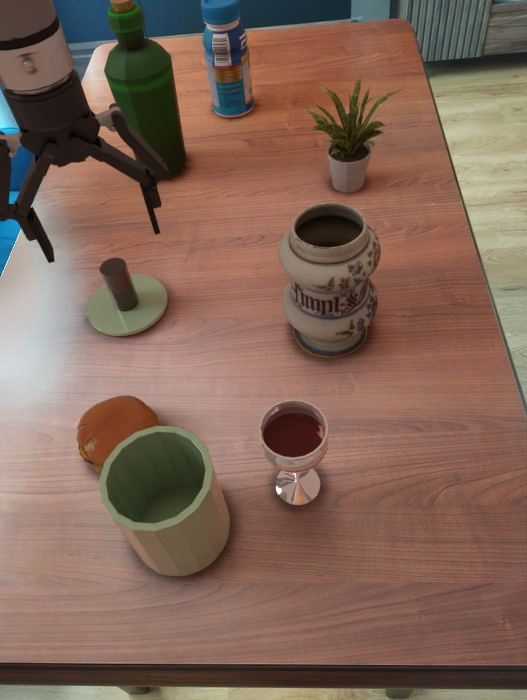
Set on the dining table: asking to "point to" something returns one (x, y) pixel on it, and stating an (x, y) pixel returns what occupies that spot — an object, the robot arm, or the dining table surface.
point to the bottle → (145, 85)
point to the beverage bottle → (227, 58)
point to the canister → (166, 499)
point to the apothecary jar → (330, 278)
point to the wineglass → (294, 447)
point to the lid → (125, 300)
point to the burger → (111, 427)
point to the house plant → (349, 138)
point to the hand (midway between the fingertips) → (104, 241)
